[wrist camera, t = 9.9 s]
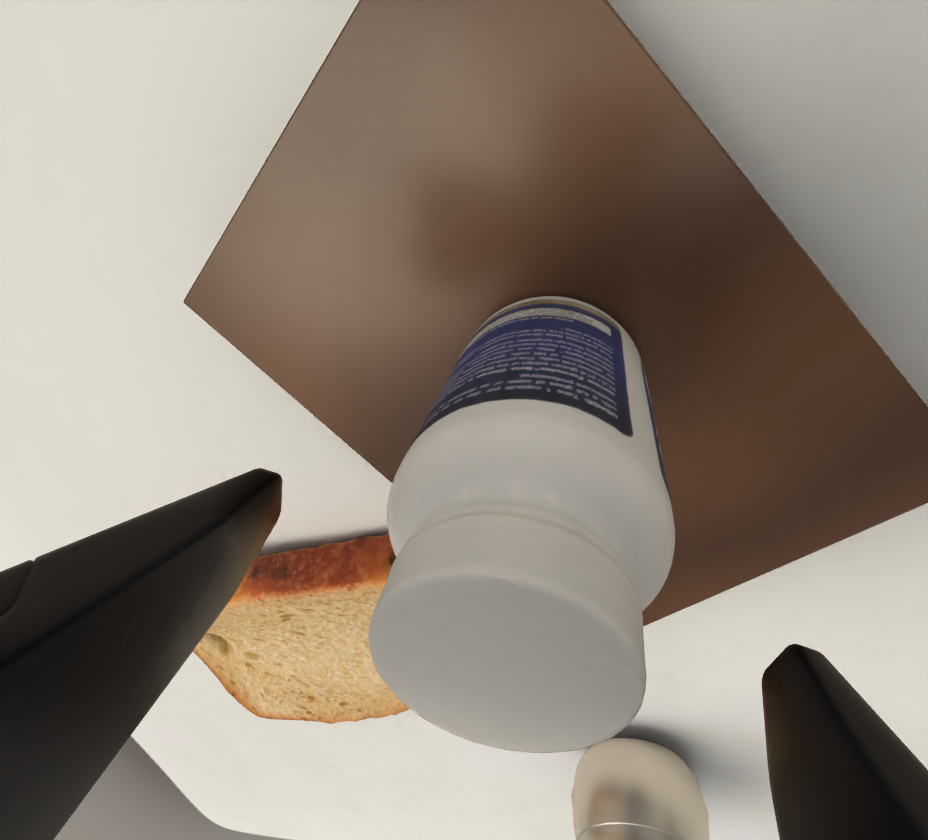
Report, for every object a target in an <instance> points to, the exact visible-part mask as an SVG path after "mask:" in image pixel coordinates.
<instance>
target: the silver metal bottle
mask: <svg viewBox="0 0 928 840" xmlns="http://www.w3.org/2000/svg"><path fill="white" fill-rule="evenodd" d="M572 807H573V821H574V829H575V836H576V840H709V817H708V811H707V808H706V805H705V802H704V798H703V795H702V792H701V789H700V786H699V783H698V780H697V778H696V777H695V776H694V774H693V773H692V772H691V770H690V769H689V768H688V766H687V765H686V764H685V763H684V761H683V760H682V759H681V758H680V757H679V756H678V755H677V754H675V753H674V752H672V751H670V750H669V749H667V748H665V747H663V746H660V745H658V744H655V743H652V742H649V741H644V740H639V739H631V738H614V739H607V740H605V741H603V742H600V743H598V744H596V745H593V746H591V747H590V748H589V749H588V751H587V752H586V753H585V754H584V756H583V757H582V758H581V760H580V761H579V763H578V765H577V770H576V775H575V780H574V785H573V790H572Z"/></svg>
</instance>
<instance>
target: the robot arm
mask: <svg viewBox="0 0 928 840" xmlns="http://www.w3.org/2000/svg"><path fill="white" fill-rule="evenodd" d="M281 502H282V478H281V476H280V475H279V474H278V473H275V472H271V471H268V470H265V469H262V468H258V469H254V470H252V471H249V472H247V473H244V474H242V475H239V476H237V477H234V478H232V479H229V480H227V481H225V482H222V483H220V484H217V485H215V486H212V487H210V488H207V489H205V490H202V491H200V492H197V493H195V494H192V495H190V496H187V497H185V498H182V499H180V500H178V501H175V502H173V503H170V504H168V505H165V506H163V507H160V508H158V509H155V510H153V511H150V512H148V513H145V514H143V515H140V516H138V517H135V518H133V519H131V520H128V521H126V522H123V523H121V524H118V525H116V526H113V527H111V528H108V529H106V530H103V531H101V532H98V533H96V534H93V535H91V536H89V537H86V538H84V539H81V540H79V541H76V542H74V543H71V544H69V545H66V546H64V547H61V548H59V549H56V550H54V551H51V552H49V553H46V554H44V555H42V556H39V557H37V558H36V559H35V560H34V561H32V560H29V561H26V562H24V563H21V564H19V565H16V566H14V567H11V568H9V569H6V570H4V571H1V572H0V840H54V838H55V837H56V836H57V834H58V833H59V832H60V830H61V829H62V827H63V826H64V825H65V823H66V822H67V821H68V819H69V818H70V817H71V815H72V814H73V813H74V811H75V810H76V809H77V807H78V806H79V804H80V803H81V802H82V800H83V799H84V798H85V796H86V795H87V794H88V792H89V791H90V790H91V788H92V787H93V785H94V784H95V783H96V781H97V780H98V779H99V777H100V776H101V775H102V773H103V772H104V771H105V769H106V768H107V766H108V765H109V764H110V762H111V761H112V760H113V758H114V757H115V756H116V754H117V753H118V752H119V750H120V749H121V748H122V746H123V745H124V743H125V742H126V740H127V739H128V738H129V737H130V735H131V734H132V733H133V731H134V730H135V729H136V727H137V726H138V725H139V723H140V722H141V720H142V719H143V718H144V716H145V715H146V714H147V712H148V711H149V710H150V708H151V707H152V706H153V704H154V703H155V702H156V700H157V699H158V697H159V696H160V695H161V693H162V692H163V691H164V689H165V688H166V687H167V685H168V684H169V683H170V681H171V680H172V678H173V677H174V676H175V674H176V673H177V672H178V670H179V669H180V668H181V666H182V665H183V664H184V662H185V661H186V660H187V658H188V657H189V655H190V654H191V653H192V651H193V650H194V649H195V647H196V646H197V645H198V643H199V642H200V641H201V639H202V638H203V636H204V635H205V634H206V632H207V631H208V630H209V628H210V627H211V626H212V624H213V623H214V622H215V620H216V619H217V618H218V616H219V615H220V613H221V612H222V611H223V609H224V608H225V607H226V605H227V604H228V602H229V601H230V600H231V598H232V597H233V595H234V594H235V592H236V590H237V589H238V587H239V586H240V584H241V582H242V581H243V579H244V577H245V575H246V574H247V572H248V570H249V569H250V567H251V565H252V563H253V562H254V560H255V558H256V557H257V555H258V553H259V551H260V550H261V548H262V546H263V545H264V543H265V541H266V539H267V538H268V536H269V534H270V533H271V531H272V529H273V527H274V526H275V524H276V522H277V520H278V518H279V515H280V512H281ZM762 695H763V708H764V721H765V734H766V747H767V760H768V770H769V779H770V786H771V792H772V799H773V804H774V810H775V815H776V821H777V827H778V832H779V838H780V840H928V770H927V769H926V768H925V766H924V765H923V764H922V763H921V762H920V761H919V760H918V759H917V758H916V757H915V755H914V754H913V753H912V752H911V751H910V750H909V749H908V748H907V747H906V745H905V744H904V743H903V742H902V741H901V740H900V739H899V738H898V737H897V736H896V734H895V733H894V732H893V731H892V730H891V729H890V728H889V727H888V726H887V725H886V723H885V722H884V721H883V720H882V719H881V718H880V717H879V716H878V715H877V714H876V712H875V711H874V710H873V709H872V708H871V707H870V706H869V705H868V704H867V702H866V701H865V700H864V699H863V698H862V697H861V696H860V695H859V694H858V693H857V691H856V690H855V689H854V688H853V687H852V686H851V685H850V684H849V683H848V682H847V680H846V679H845V678H844V677H843V676H842V675H841V674H840V673H839V672H838V671H837V669H836V668H835V667H834V666H833V665H832V664H831V663H830V662H829V661H828V659H827V658H826V657H825V656H824V655H823V654H821V653H820V652H818V651H816V650H813V649H810V648H807V647H804V646H801V645H798V644H792V645H789V646H788V647H786V648H785V650H784V651H783V652H782V653H781V654H780V655H779V656H778V657H777V658H776V659H775V660H774V661H773V662H772V663H771V664H770V666H769V667H768V668H767V669H766V670H765V672H764V674H763V678H762Z"/></svg>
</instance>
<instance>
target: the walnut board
mask: <svg viewBox="0 0 928 840" xmlns="http://www.w3.org/2000/svg"><path fill="white" fill-rule="evenodd" d="M543 296H558V297H567V298H572V299H576V300H579V301H582V302H585V303H587V304H590V305H592V306H594V307H596V308H598V309H600V310H601V311H603V312H605V313H606V314H608V315H609V316H610V317H611V318H613V319H614V320H615V321H616V322H617V323H618V324H620V325H621V326H622V328H623V329H624V330H625V331H626V332H627V333H628V335H629V336H630V338H631V339H632V341H633V342H634V344H635V346H636V348H637V350H638V352H639V355H640V357H641V361H642V364H643V367H644V370H645V375H646V380H647V385H648V389H649V394H650V398H651V404H652V410H653V415H654V420H655V425H656V430H657V435H658V440H659V445H660V449H661V455H662V460H663V465H664V469H665V475H666V480H667V483H668V488H669V493H670V497H671V502H672V512H673V519H674V527H675V548H674V555H673V560H672V565H671V568H670V571H669V574H668V577H667V579H666V581H665V583H664V585H663V587H662V588H661V590H660V592H659V593H658V595H657V596H656V597H655V599H654V600H653V601H652V602H651V603H650V604H649V605H648V606H647V607H646V608H645V609H644V610H643V611H642V615H643V626H645V625H647V624H650V623H652V622H654V621H657V620H659V619H661V618H664V617H666V616H668V615H670V614H673V613H675V612H677V611H680V610H682V609H684V608H687V607H689V606H691V605H693V604H696V603H698V602H700V601H703V600H705V599H707V598H710V597H712V596H714V595H717V594H719V593H721V592H723V591H726V590H728V589H730V588H733V587H735V586H737V585H740V584H742V583H744V582H746V581H749V580H751V579H753V578H756V577H758V576H760V575H763V574H765V573H767V572H769V571H772V570H774V569H776V568H779V567H781V566H783V565H786V564H788V563H790V562H793V561H795V560H797V559H799V558H802V557H804V556H806V555H809V554H811V553H813V552H816V551H818V550H820V549H822V548H825V547H827V546H829V545H832V544H834V543H836V542H839V541H841V540H843V539H845V538H848V537H850V536H852V535H855V534H857V533H859V532H862V531H864V530H866V529H869V528H871V527H873V526H875V525H878V524H880V523H882V522H885V521H887V520H889V519H892V518H894V517H896V516H898V515H901V514H903V513H905V512H908V511H910V510H912V509H915V508H917V507H919V506H921V505H924V504H926V503H928V407H927V406H926V404H925V403H924V402H923V400H922V399H921V398H920V397H919V395H918V394H917V393H916V392H915V390H914V389H913V388H912V387H911V385H910V384H909V383H908V381H907V380H906V379H905V378H904V376H903V375H902V374H901V373H900V371H899V370H898V369H897V367H896V366H895V365H894V364H893V362H892V361H891V360H890V359H889V357H888V356H887V355H886V354H885V352H884V351H883V350H882V348H881V347H880V346H879V345H878V343H877V342H876V341H875V340H874V338H873V337H872V336H871V335H870V333H869V332H868V331H867V329H866V328H865V327H864V326H863V324H862V323H861V322H860V321H859V319H858V318H857V317H856V316H855V314H854V313H853V312H852V310H851V309H850V308H849V307H848V305H847V304H846V303H845V302H844V300H843V299H842V298H841V296H840V295H839V294H838V293H837V291H836V290H835V289H834V288H833V286H832V285H831V284H830V283H829V281H828V280H827V279H826V277H825V276H824V275H823V274H822V272H821V271H820V270H819V269H818V267H817V266H816V265H815V264H814V262H813V261H812V260H811V258H810V257H809V256H808V255H807V253H806V252H805V251H804V250H803V248H802V247H801V246H800V245H799V243H798V242H797V241H796V239H795V238H794V237H793V236H792V234H791V233H790V232H789V231H788V229H787V228H786V227H785V225H784V224H783V223H782V222H781V220H780V219H779V218H778V217H777V215H776V214H775V213H774V212H773V210H772V209H771V208H770V206H769V205H768V204H767V203H766V201H765V200H764V199H763V198H762V196H761V195H760V194H759V193H758V191H757V190H756V189H755V187H754V186H753V185H752V184H751V182H750V181H749V180H748V179H747V177H746V176H745V175H744V174H743V172H742V171H741V170H740V168H739V167H738V166H737V165H736V163H735V162H734V161H733V160H732V158H731V157H730V156H729V154H728V153H727V152H726V151H725V149H724V148H723V147H722V146H721V144H720V143H719V142H718V141H717V139H716V138H715V137H714V135H713V134H712V133H711V132H710V130H709V129H708V128H707V127H706V125H705V124H704V123H703V122H702V120H701V119H700V118H699V116H698V115H697V114H696V113H695V111H694V110H693V109H692V108H691V106H690V105H689V104H688V103H687V101H686V100H685V99H684V97H683V96H682V95H681V94H680V92H679V91H678V90H677V89H676V87H675V86H674V85H673V83H672V82H671V81H670V80H669V78H668V77H667V76H666V75H665V73H664V72H663V71H662V70H661V68H660V67H659V66H658V64H657V63H656V62H655V61H654V59H653V58H652V57H651V56H650V54H649V53H648V52H647V51H646V49H645V48H644V47H643V45H642V44H641V43H640V42H639V40H638V39H637V38H636V37H635V35H634V34H633V33H632V32H631V30H630V29H629V28H628V26H627V25H626V24H625V23H624V21H623V20H622V19H621V18H620V16H619V15H618V14H617V13H616V11H615V10H614V9H613V7H612V6H611V5H610V4H609V2H608V1H607V0H360V1H359V3H358V4H357V6H356V8H355V9H354V11H353V13H352V14H351V16H350V18H349V20H348V21H347V23H346V25H345V26H344V28H343V30H342V32H341V33H340V35H339V37H338V38H337V40H336V42H335V43H334V45H333V47H332V49H331V50H330V52H329V54H328V55H327V57H326V59H325V61H324V62H323V64H322V66H321V67H320V69H319V71H318V72H317V74H316V76H315V78H314V79H313V81H312V83H311V84H310V86H309V88H308V90H307V91H306V93H305V95H304V96H303V98H302V100H301V102H300V103H299V105H298V107H297V108H296V110H295V112H294V113H293V115H292V117H291V119H290V120H289V122H288V124H287V125H286V127H285V129H284V131H283V132H282V134H281V136H280V137H279V139H278V141H277V142H276V144H275V146H274V148H273V149H272V151H271V153H270V154H269V156H268V158H267V160H266V161H265V163H264V165H263V166H262V168H261V170H260V172H259V173H258V175H257V177H256V178H255V180H254V182H253V183H252V185H251V187H250V189H249V190H248V192H247V194H246V195H245V197H244V199H243V201H242V202H241V204H240V206H239V207H238V209H237V211H236V212H235V214H234V216H233V218H232V219H231V221H230V223H229V224H228V226H227V228H226V230H225V231H224V233H223V235H222V236H221V238H220V240H219V241H218V243H217V245H216V247H215V248H214V250H213V252H212V253H211V255H210V257H209V259H208V260H207V262H206V264H205V265H204V267H203V269H202V271H201V272H200V274H199V276H198V277H197V279H196V281H195V282H194V284H193V286H192V288H191V289H190V291H189V293H188V294H187V296H186V298H185V300H184V303H185V304H186V305H187V306H188V307H189V308H191V309H192V310H193V311H194V312H195V313H196V314H198V315H199V316H200V317H201V318H202V319H203V320H205V321H206V322H207V323H208V324H209V325H210V326H211V327H213V328H214V329H215V330H216V331H217V332H218V333H220V334H221V335H222V336H223V337H224V338H225V339H226V340H228V341H229V342H230V343H231V344H232V345H233V346H235V347H236V348H237V349H238V350H239V351H240V352H241V353H243V354H244V355H245V356H246V357H247V358H248V359H250V360H251V361H252V362H253V363H254V364H255V365H256V366H258V367H259V368H260V369H261V370H262V371H263V372H265V373H266V374H267V375H268V376H269V377H270V378H272V379H273V380H274V381H275V382H276V383H277V384H278V385H280V386H281V387H282V388H283V389H284V390H285V391H287V392H288V393H289V394H290V395H291V396H292V397H293V398H295V399H296V400H297V401H298V402H299V403H300V404H302V405H303V406H304V407H305V408H306V409H307V410H308V411H310V412H311V413H312V414H313V415H314V416H315V417H317V418H318V419H319V420H320V421H321V422H322V423H323V424H325V425H326V426H327V427H328V428H329V429H330V430H332V431H333V432H334V433H335V434H336V435H337V436H339V437H340V438H341V439H342V440H343V441H344V442H345V443H347V444H348V445H349V446H350V447H351V448H352V449H354V450H355V451H356V452H357V453H358V454H359V455H360V456H362V457H363V458H364V459H365V460H366V461H367V462H369V463H370V464H371V465H372V466H373V467H374V468H375V469H377V470H378V471H379V472H380V473H381V474H382V475H384V476H385V477H386V478H387V479H388V480H389V481H390V482H392V483H393V480H394V477H395V475H396V473H397V471H398V469H399V467H400V465H401V463H402V461H403V459H404V457H405V455H406V454H407V452H408V450H409V448H410V446H411V444H412V442H413V440H414V439H415V437H416V435H417V434H418V432H419V430H420V428H421V427H422V425H423V423H424V421H425V419H426V418H427V416H428V414H429V413H430V411H431V409H432V407H433V405H434V404H435V402H436V400H437V398H438V396H439V395H440V393H441V391H442V389H443V388H444V386H445V384H446V382H447V380H448V378H449V377H450V375H451V373H452V371H453V369H454V367H455V366H456V364H457V362H458V360H459V358H460V357H461V355H462V353H463V351H464V349H465V347H466V345H467V344H468V342H469V341H470V339H471V338H472V336H473V335H474V334H475V332H476V331H477V330H478V329H479V327H480V326H481V325H482V324H483V323H484V322H485V321H486V320H487V319H488V318H490V317H491V316H492V315H493V314H495V313H496V312H498V311H499V310H501V309H503V308H504V307H506V306H508V305H511V304H513V303H516V302H518V301H521V300H525V299H528V298H534V297H543Z"/></svg>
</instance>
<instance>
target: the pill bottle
mask: <svg viewBox="0 0 928 840" xmlns="http://www.w3.org/2000/svg"><path fill="white" fill-rule="evenodd" d="M387 522H388V531H389V536H390V541H391V544H392V547H393V550H394V553H395V556H396V559H395V561H394V563H393V565H392V568H391V570H390V573H389V576H388V579H387V582H386V584H385V587H384V589H383V591H382V594H381V596H380V598H379V600H378V603H377V605H376V607H375V610H374V612H373V615H372V618H371V621H370V628H369V634H368V636H369V648H370V653H371V656H372V659H373V662H374V665H375V668H376V670H377V671H378V673H379V675H380V676H381V678H382V679H383V681H384V682H385V683H386V685H387V686H388V687H389V689H390V690H391V691H392V692H393V693H394V694H395V695H396V696H397V697H398V698H399V699H400V700H401V701H402V702H403V703H404V704H405V705H406V706H407V707H408V708H410V709H411V710H413V711H414V712H415V713H417V714H418V715H420V716H421V717H422V718H424V719H425V720H427V721H429V722H431V723H432V724H434V725H436V726H438V727H439V728H441V729H444V730H446V731H448V732H450V733H452V734H454V735H457V736H459V737H462V738H464V739H467V740H470V741H473V742H476V743H480V744H483V745H487V746H491V747H496V748H501V749H505V750H511V751H519V752H530V753H552V752H565V751H573V750H578V749H582V748H585V747H589V746H592V745H596V744H598V743H600V742H603V741H605V740H607V739H609V738H611V737H613V736H614V735H616V734H617V733H619V732H620V731H621V730H623V729H624V728H625V727H627V725H628V724H629V723H630V722H631V721H632V719H633V718H634V717H635V716H636V714H637V712H638V711H639V709H640V707H641V705H642V701H643V698H644V694H645V687H646V667H645V654H644V640H643V615H642V611H643V610H644V609H645V608H646V607H647V606H648V605H649V604H650V603H651V602H652V601H653V600H654V599H655V597H656V596H657V595H658V593H659V592H660V590H661V588H662V587H663V585H664V583H665V581H666V579H667V577H668V574H669V571H670V568H671V565H672V560H673V555H674V548H675V527H674V519H673V512H672V502H671V497H670V493H669V488H668V483H667V480H666V475H665V469H664V465H663V460H662V455H661V449H660V445H659V440H658V435H657V430H656V425H655V420H654V415H653V410H652V404H651V398H650V394H649V389H648V385H647V380H646V375H645V370H644V367H643V364H642V361H641V357H640V355H639V352H638V350H637V348H636V346H635V344H634V342H633V341H632V339H631V338H630V336H629V335H628V333H627V332H626V331H625V330H624V329H623V328H622V326H621V325H620V324H618V323H617V322H616V321H615V320H614V319H613V318H611V317H610V316H609V315H608V314H606V313H605V312H603V311H601V310H600V309H598V308H596V307H594V306H592V305H590V304H587V303H585V302H582V301H579V300H576V299H572V298H567V297H558V296H543V297H534V298H528V299H525V300H521V301H518V302H516V303H513V304H511V305H508V306H506V307H504V308H503V309H501V310H499V311H498V312H496V313H495V314H493V315H492V316H491V317H490V318H488V319H487V320H486V321H485V322H484V323H483V324H482V325H481V326H480V327H479V329H478V330H477V331H476V332H475V334H474V335H473V336H472V338H471V339H470V341H469V342H468V344H467V345H466V347H465V349H464V351H463V353H462V355H461V357H460V358H459V360H458V362H457V364H456V366H455V367H454V369H453V371H452V373H451V375H450V377H449V378H448V380H447V382H446V384H445V386H444V388H443V389H442V391H441V393H440V395H439V396H438V398H437V400H436V402H435V404H434V405H433V407H432V409H431V411H430V413H429V414H428V416H427V418H426V419H425V421H424V423H423V425H422V427H421V428H420V430H419V432H418V434H417V435H416V437H415V439H414V440H413V442H412V444H411V446H410V448H409V450H408V452H407V454H406V455H405V457H404V459H403V461H402V463H401V465H400V467H399V469H398V471H397V473H396V475H395V477H394V480H393V483H392V487H391V490H390V494H389V499H388V508H387Z"/></svg>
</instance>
